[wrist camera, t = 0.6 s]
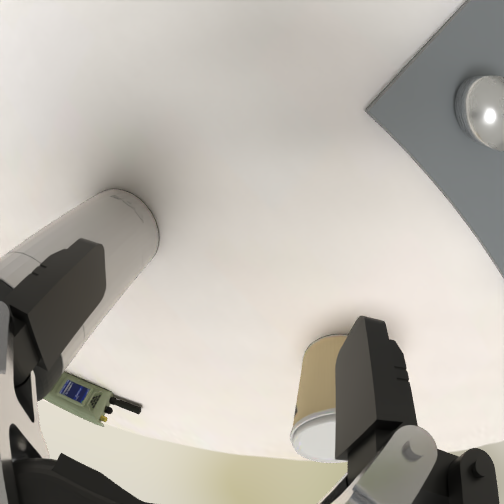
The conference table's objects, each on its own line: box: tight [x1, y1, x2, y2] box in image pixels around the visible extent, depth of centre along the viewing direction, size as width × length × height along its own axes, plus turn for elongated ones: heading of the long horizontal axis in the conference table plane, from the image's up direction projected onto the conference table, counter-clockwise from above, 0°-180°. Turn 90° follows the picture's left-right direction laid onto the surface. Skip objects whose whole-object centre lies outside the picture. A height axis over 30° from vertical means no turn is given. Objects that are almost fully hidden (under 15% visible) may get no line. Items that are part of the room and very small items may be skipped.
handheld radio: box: [43, 372, 141, 427], centre depth 45 cm, size 7×3×25 cm
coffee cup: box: [290, 334, 348, 463], centre depth 31 cm, size 9×9×12 cm
